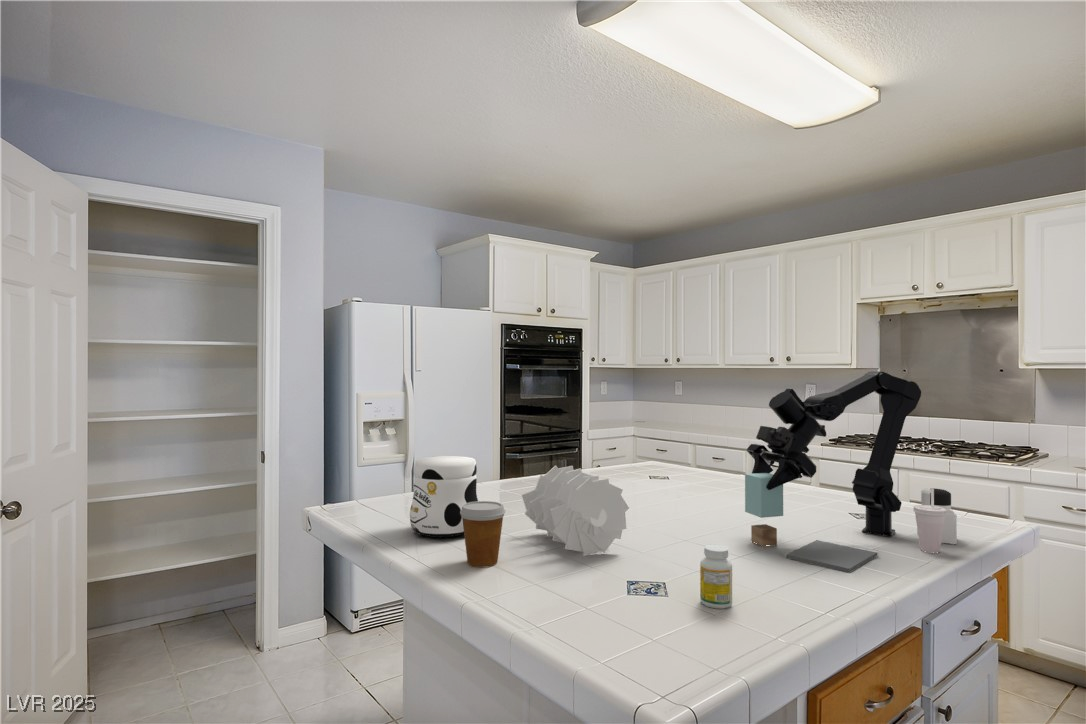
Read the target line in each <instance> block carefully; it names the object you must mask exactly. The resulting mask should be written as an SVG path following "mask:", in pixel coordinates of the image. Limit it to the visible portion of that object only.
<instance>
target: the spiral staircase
mask: <svg viewBox="0 0 1086 724" xmlns="http://www.w3.org/2000/svg"><path fill="white" fill-rule="evenodd" d="M599 478H600V476H599V475H591V474H588V473H584V472H582V468H581V467H580V468H577V469H574V466H573V465H569V466H564V467H558V466H557V465H556V464H555V465H554V466H553V467H552V468H551V469H550V470H549V471H548V472H546V474H544V475H542V474H540V475H539V478H538V481H537V483H536V486H535V488H534V489H532V490H529V491H527V492H524V493H522V494H521V497H522V501H523V504H524V506H525V510H526V511H525V512H524V515H525V516H526V517H528V518H529V519H530V520H531V521H532V522H533V523H534V524H535V529H536V530H541V531H547V534H546V536H547V537H551V538H552V539H551V540H552V541H554V542H559V543H562V544H565V546H564V549H565V550H570V551H575V552H582V554H583V557H587V556H589V555H591V554H593V553H596V552H597V551H602V552H603V553H606V552H607V551H608V549H609V547H610V546H611V545H612V543H613V542H614V541H615V540H616V539H617V540H621V539H622V533H623V530H627V521H626V520H627V518H626V512H627V511H628V510H630V507H629V506H628V504H627V502H626V500H625V499H624V497H623V496H622V493H623V491H624V490H623V489H622V488H620V487H619V486H616V485H614V484H611V483H610V481H609V479H610V478H604V479H603V478H602V479H599Z"/></svg>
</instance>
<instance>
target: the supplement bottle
mask: <svg viewBox="0 0 1086 724" xmlns="http://www.w3.org/2000/svg"><path fill="white" fill-rule="evenodd" d="M703 551H704V552H703V553H704V556H705V557H703V558H702V559H701V560H700V564H699V565H700V568H699V569H700V570H699V571H700V578H699V580H700V583H699V585H700V589H699V590H700V594H699V595H700V601H701V604H702V605H704V606H706V607H709V608H712V609H719V610H721V609H722V610H723V609H724V610H725V609H728V608H730V607H731V606H733V605H732V604H733V564H732V562H731V560H730V559H728V557H729V549H728V547H726V546H724V545H720V544H708V545H707V544H706V545H704V549H703Z"/></svg>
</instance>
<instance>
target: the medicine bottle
mask: <svg viewBox="0 0 1086 724" xmlns="http://www.w3.org/2000/svg"><path fill="white" fill-rule="evenodd" d="M931 488H932V487H931ZM931 488H924V489H922V490H921V491H920V492H921V494H920V496H921V497H920V498H921V499H920V503H921V504H920V505H931ZM932 489H934V506H937V507H942V508H945V509H946V513H947V514H946V515H945V519H944V526H943V533H942V541H941V544H944V543H950V544H949V545H954V544H956V545H957V542H958V539H957V538H958V536H957V535H958V531H957V529H958V528H957V526H958V525H957V524H958V523H957V522H958V520H957V519H958V518H957V514H956V513H955V511H953V510H952V494H951V492H950V491H948V490H947V489H946V490H945V489H943V488H932ZM916 534H917V535H918V529H917V528H916Z"/></svg>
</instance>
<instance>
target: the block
mask: <svg viewBox="0 0 1086 724" xmlns="http://www.w3.org/2000/svg"><path fill="white" fill-rule="evenodd" d="M777 531H778V528H777V527H774V526H772V525H769V524H766V523H765V524H753V525H751V533H750V534H751V535H750V536H751V538H750V539H751V540H750V541H752V542H751V543H753V542H755V543H757V544H759V545H762V546H765V547H767V546H766V545H775V546H778V543H777V541H778V538H777V537H778V532H777ZM755 543H754V544H755ZM757 544H756V545H757ZM759 545H758V546H759ZM762 546H761V547H762Z"/></svg>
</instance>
